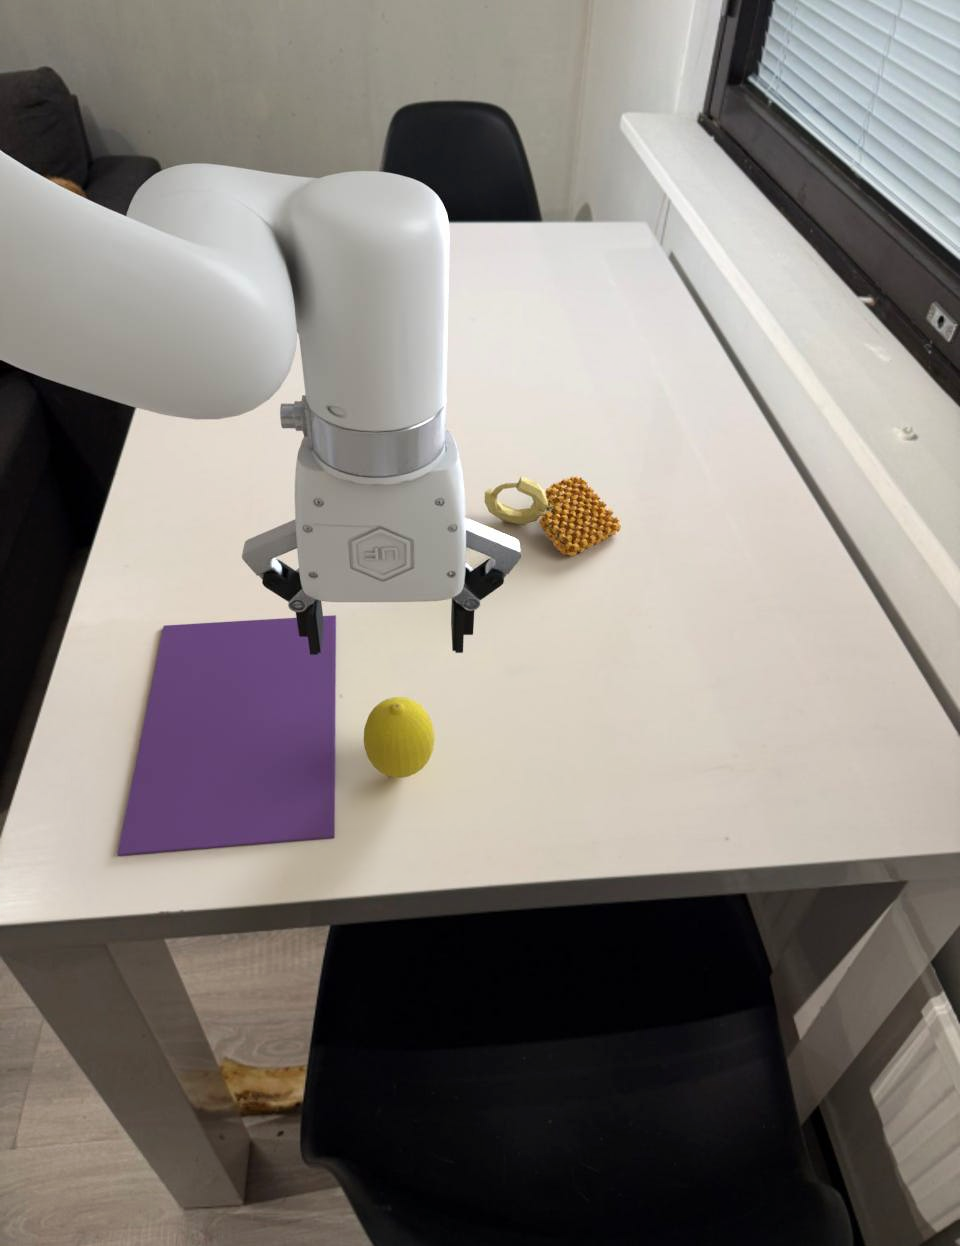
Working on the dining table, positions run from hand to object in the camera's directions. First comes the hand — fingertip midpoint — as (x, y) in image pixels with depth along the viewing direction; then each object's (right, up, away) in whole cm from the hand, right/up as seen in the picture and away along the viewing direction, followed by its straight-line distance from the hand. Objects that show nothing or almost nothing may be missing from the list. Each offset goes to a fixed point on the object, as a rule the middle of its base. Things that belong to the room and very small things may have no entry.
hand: (387, 639), depth 60 cm
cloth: (-14, -7, +14) cm, 21 cm away
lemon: (0, -11, +11) cm, 16 cm away
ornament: (+14, +11, +34) cm, 38 cm away
